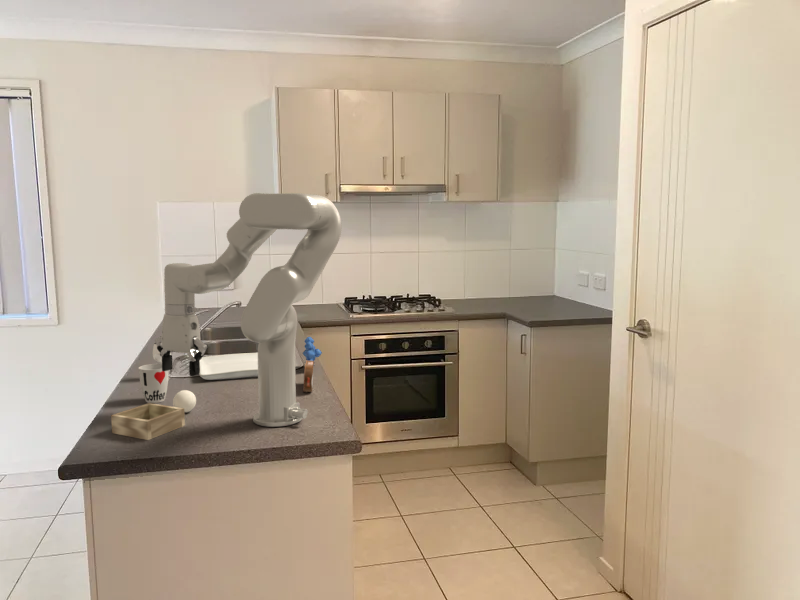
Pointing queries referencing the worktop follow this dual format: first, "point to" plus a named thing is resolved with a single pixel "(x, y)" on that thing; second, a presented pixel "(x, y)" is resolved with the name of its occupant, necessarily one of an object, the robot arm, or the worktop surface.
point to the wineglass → (157, 355)
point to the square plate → (229, 366)
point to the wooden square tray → (148, 421)
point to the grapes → (311, 350)
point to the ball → (184, 400)
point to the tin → (308, 376)
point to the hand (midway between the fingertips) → (180, 372)
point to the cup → (153, 382)
